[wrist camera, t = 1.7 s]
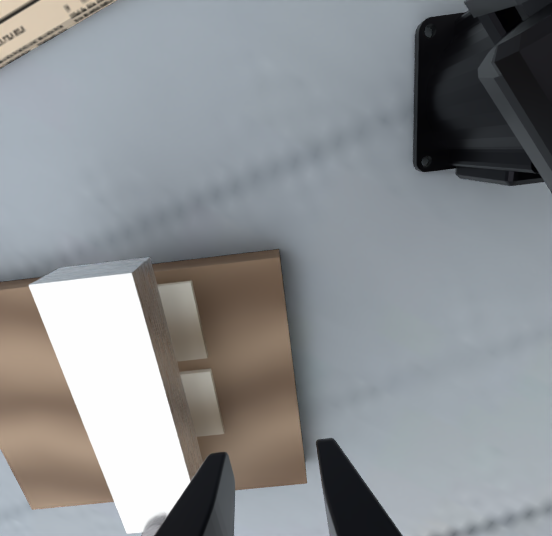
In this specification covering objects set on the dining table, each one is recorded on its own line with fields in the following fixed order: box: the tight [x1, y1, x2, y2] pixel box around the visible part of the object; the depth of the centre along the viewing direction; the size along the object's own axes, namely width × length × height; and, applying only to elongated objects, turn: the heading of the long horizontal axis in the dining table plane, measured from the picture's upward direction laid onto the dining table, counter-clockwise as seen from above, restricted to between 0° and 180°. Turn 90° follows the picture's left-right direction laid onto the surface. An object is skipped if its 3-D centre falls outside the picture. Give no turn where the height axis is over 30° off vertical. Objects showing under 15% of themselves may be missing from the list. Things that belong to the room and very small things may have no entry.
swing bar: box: [29, 257, 203, 536], centre depth 16 cm, size 16×4×2 cm, turn 7°
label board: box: [0, 249, 307, 510], centre depth 20 cm, size 16×19×4 cm
